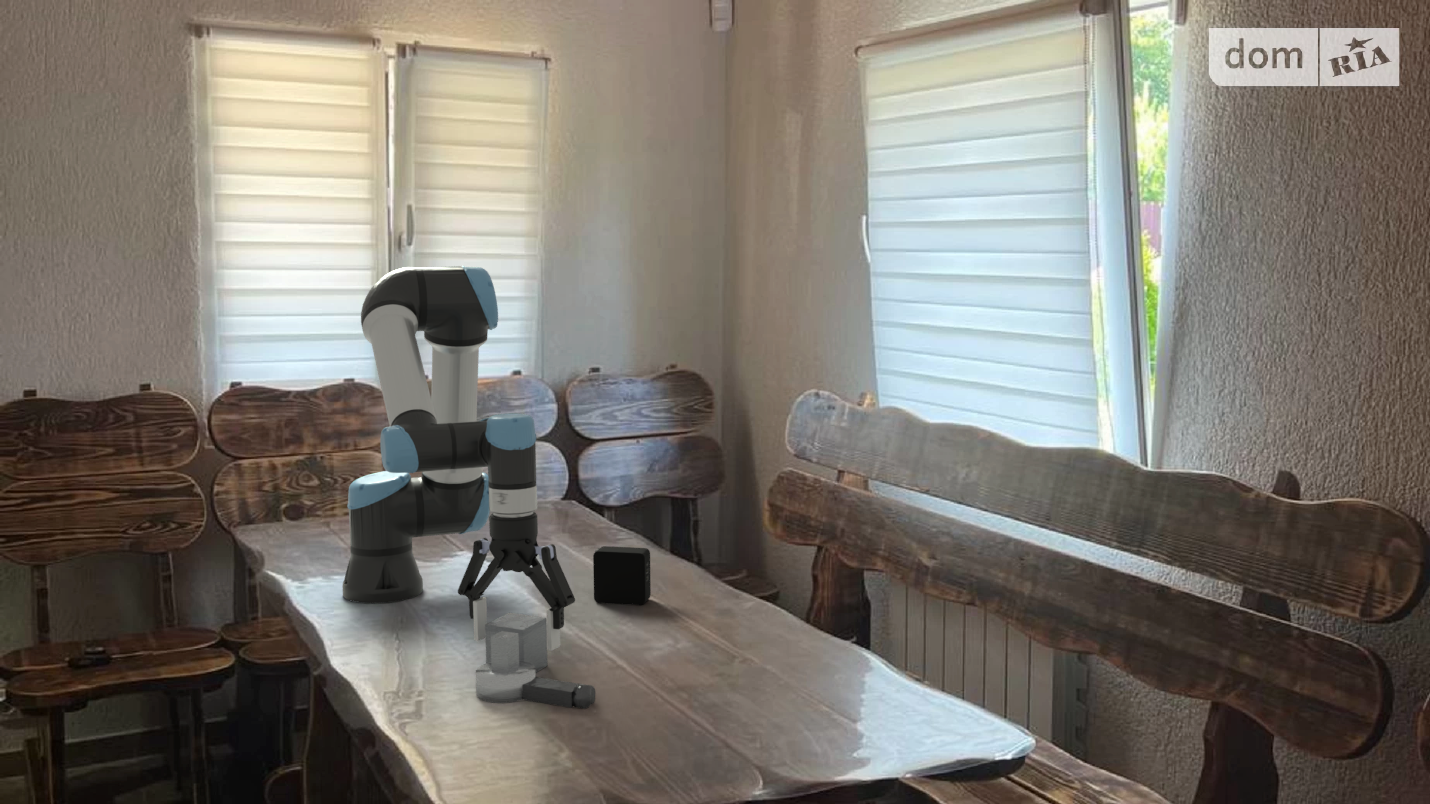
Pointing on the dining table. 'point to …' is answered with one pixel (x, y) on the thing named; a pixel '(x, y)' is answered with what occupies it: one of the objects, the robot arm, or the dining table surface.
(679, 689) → the dining table surface
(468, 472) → the robot arm
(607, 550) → the electronic device
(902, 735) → the dining table surface
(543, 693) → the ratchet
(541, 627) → the dark grey cube
